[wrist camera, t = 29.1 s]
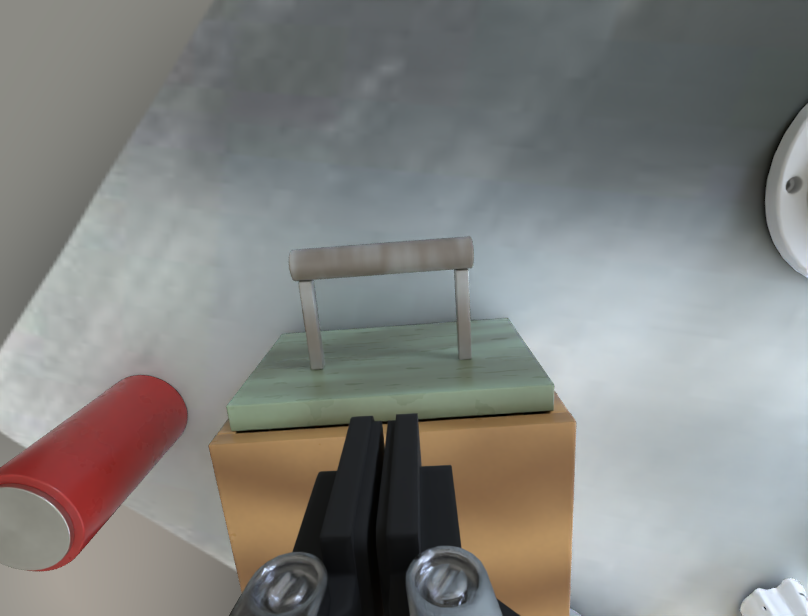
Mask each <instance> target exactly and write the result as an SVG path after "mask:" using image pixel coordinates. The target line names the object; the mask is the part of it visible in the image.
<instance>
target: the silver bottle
mask: <svg viewBox="0 0 808 616" xmlns="http://www.w3.org/2000/svg"><path fill="white" fill-rule="evenodd" d="M570 616H582V615H581V614H579V613H578V612H576V611H575V610H573V609H572V608H570Z"/></svg>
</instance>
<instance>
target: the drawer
mask: <svg viewBox="0 0 808 616" xmlns="http://www.w3.org/2000/svg"><path fill="white" fill-rule="evenodd" d="M473 264H474V249H473V241H472V238H471V237H470V236H468V237H455V238H441V239H428V240H415V241H402V242H388V243H375V244H362V245H349V246H335V247H322V248H309V249H296V250H291V251H290V253H289V270H290V274H291V277H292V279H293V280H294V281H299V283H298V284H299V291H300V298H301V304H302V311H303V318H304V325H305V332H302V333H287V334H282V335H281V336H280V337H279V339H278V340H277V341H276V343H275V344H274V345H273V347H272V348H271V349H270V350H269V352H268V353H267V354H266V356H265V357H264V358H263V359H262V361H261V362H260V363H259V365H258V366H257V367H256V369H255V370H254V371H253V372H252V374H251V375H250V376H249V378H248V379H247V380H246V382H245V383H244V384H243V385H242V387H241V388H240V389H239V391H238V392H237V393H236V394H235V396H234V397H233V398H232V400H231V401H230V402H229V404H228V405H227V406H226V408H227V413H228V418H229V422H230V427H231V431H247V430H262V429H269V431H284V430H300V429H315V428H331V427H346V426H349V423H350V419H351V417H357V416H373V417H374V421H382V424H388V421H389V420H396V414H412V413H418V422H424V421H439V420H455V419H470V418H486V417H501V416H517V415H524V414H523V413H525V412H541V411H553V410H554V384H553V382H552V381H551V379H550V378H549V377H548V375H547V374H546V372H545V371H544V369H543V368H542V366H541V365H540V364H539V362H538V361H537V359H536V358H535V356H534V355H533V354H532V352H531V351H530V349H529V348H528V346H527V345H526V343H525V342H524V341H523V339H522V338H521V336H520V335H519V333H518V332H517V330H516V329H515V328H514V326H513V325H512V323H511V322H510V320H509V319H508V318H500V319H486V320H472V321H470V294H469V270H468V269H467V268H472V267H473ZM453 269H454V280H455V302H456V322H444V323H429V324H415V325H401V326H387V327H373V328H358V329H344V330H330V331H321V330H320V323H319V315H318V308H317V301H316V293H315V286H314V280H317V279H331V278H345V277H358V276H372V275H385V274H399V273H413V272H426V271H440V270H453ZM269 431H268V432H269Z"/></svg>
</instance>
